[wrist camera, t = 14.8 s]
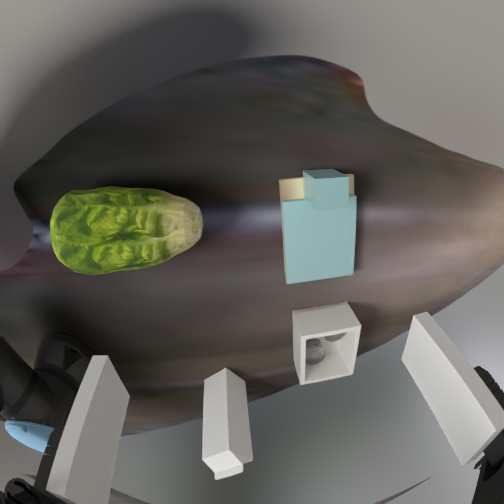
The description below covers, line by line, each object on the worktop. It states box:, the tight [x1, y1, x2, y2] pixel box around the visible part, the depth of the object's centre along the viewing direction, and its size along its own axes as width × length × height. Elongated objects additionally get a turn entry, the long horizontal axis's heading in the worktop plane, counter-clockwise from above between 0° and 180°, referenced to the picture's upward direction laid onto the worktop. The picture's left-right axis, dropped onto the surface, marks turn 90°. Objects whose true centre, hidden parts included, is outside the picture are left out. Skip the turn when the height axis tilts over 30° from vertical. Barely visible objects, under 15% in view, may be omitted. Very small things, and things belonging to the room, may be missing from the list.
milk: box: [202, 368, 253, 480], centre depth 47 cm, size 6×6×22 cm
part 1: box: [305, 338, 325, 365], centre depth 52 cm, size 4×4×3 cm
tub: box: [292, 302, 361, 385], centre depth 50 cm, size 10×12×7 cm
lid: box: [281, 169, 357, 284], centre depth 41 cm, size 11×17×6 cm, turn 5°
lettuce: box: [50, 186, 203, 275], centre depth 36 cm, size 12×21×11 cm, turn 91°
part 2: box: [324, 332, 346, 342], centre depth 50 cm, size 4×4×3 cm
